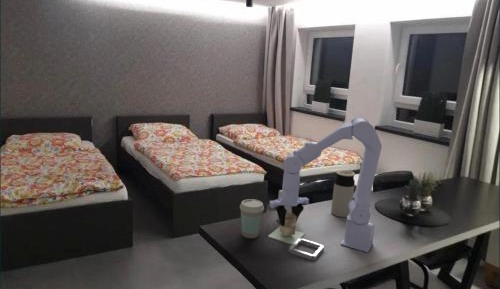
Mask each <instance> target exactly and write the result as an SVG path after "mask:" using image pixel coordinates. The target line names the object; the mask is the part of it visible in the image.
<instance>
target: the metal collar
mask: <svg viewBox="0 0 500 289" xmlns="http://www.w3.org/2000/svg"><path fill="white" fill-rule="evenodd" d="M300 245H304V246H306V247H310V248H313V249H317V250H315V252H314V253H313V254H312V253H309V252H306V251H303V250H300V249H297V248H298V247H299V246H300ZM324 250H325V246H324V245H323V244H322V243H320V242H319V243H318V242H315V241H311V240H308V239H304V238H301V239H300V238H298V239H297V240H296V241H295V242H294V243H293V244H292V245H291V244H290V246H289V247H288V253H290V254H291V255H295V256H297V257H301V258H303V259H307V260H309V261H312V260H313V261H316V260H317V259H318V257H319V256H320V255H321V254H322V253H323V252H324Z"/></svg>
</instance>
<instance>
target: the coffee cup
mask: <svg viewBox="0 0 500 289" xmlns="http://www.w3.org/2000/svg"><path fill="white" fill-rule="evenodd" d="M239 209H240V220H241V221H240V222H241V234H242V236H243V237H244V238H247V239H257V237H258V236H259V235H260V228H261V224H262V218H263V212H264V211H265V206H264V203H263V202H262V201H261V200H258V199H255V198H254V199H253V198H251V199H250V198H249V199H244V200H242V201H241V203H240V204H239Z"/></svg>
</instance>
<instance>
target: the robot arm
mask: <svg viewBox="0 0 500 289" xmlns="http://www.w3.org/2000/svg"><path fill="white" fill-rule="evenodd" d="M377 132H378V131H377V130H376V128H375V127H374V126H373V125H372V124H371V123H370V122H369V121H368V120H367V119H366V118H365V117H363V116H362V117H361V116H357V117H354V118H353V119H352V120H349V121H347V122H344V124H341V125H340V126H339V127H338V128H336V129H334V130H333V131H331V132H330V133H328V134H327V135H326V136H324V137H323V138H321V139H320V140H318V141H315V142H314V141H310V142H308V141H306V142H304V145H303V146H302V147H300V148H298V149H297V150H292V153H289V154H287V155H286V157H285V158H284V164H283V166H284V169H283V177H282V178H283V179H282V189H281V190H282V198H280V199H278V198H277V199H274V200H269V207H270V209H274V208H275V210H276V214H277V213H278V217H279V221H278V222H279V226H280V225H281V226H284V223H285V216H286V212H287V210H286V209H285V207H284V206H291V208H292V213H293V214H295V215H296V216H297V219H296V223H297V222H298V221H297V220H298V219H299V217H300V215H301V213H302V212H303V210H304V206H303V205H307V206H308V205H309V203H310V202H309V201H310V199H309V198H307V197H306V196H305V197H301V196H300V197H299V195H300V194H299V191H300V182H301V181H300V179H301V175H300V171H301V170H302V168H303V167H304V166H307V165H308V164H310V163H311V162H313V161H315V160H316V159H318V158H319V157H321V155H322V153H323V151H324V150H326V149H327V148H329V147H331V146H333V145H335V144H336V143H338V142H341V141H342V140H354V139H356V140H357V141H359V142H361V143H362V145H363V146H364V152H363V156H362V159H361V160H362V161H361V164H360V165H361V166H360V170H359V174H358V179H357V182H356V187H355V191H354V192H353V197H352V199H351V200H350V201H349V203H348V208H349V211H350V213H349V215H348V216H347V217H346V221H345V222H346V223H345V229H344V230H345V231H344V238H343V239H342V240H341V242H340V245H341V246H344V247H348V248H352V249H355V250H358V251H362V252H365V253H368V252H369V251H370V249H371V248H372V246H373V244H374V235H375V228H376V227H375V226H376V224H375V223H372V222H370V219H371V212H370V206H371V193H372V189H373V185H374V181H375V178H376V177H375V176H376V172H377V168H378V164H379V160H380V156H381V151H382V147H383V146H382V142H381V140H380V138H379V134H378V133H377ZM353 137H354V139H353Z"/></svg>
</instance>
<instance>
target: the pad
mask: <svg viewBox="0 0 500 289" xmlns="http://www.w3.org/2000/svg"><path fill="white" fill-rule="evenodd" d="M305 235H306V233H305V232H301V231H298V230H295V235H289V236H284V235H283V234H282V233H281V232H280V226H278V227H277V228H276V229H275V230H273V231H272V232H271V233H270V234H268V236H267V238H269V239H273V240H276V241H279V242H282V243H285V244H288V245H290V246H291V245H292V244H293V243H294V242H295V241H296V240H297V239H298V238H300V239H303V237H304V236H305Z"/></svg>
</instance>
